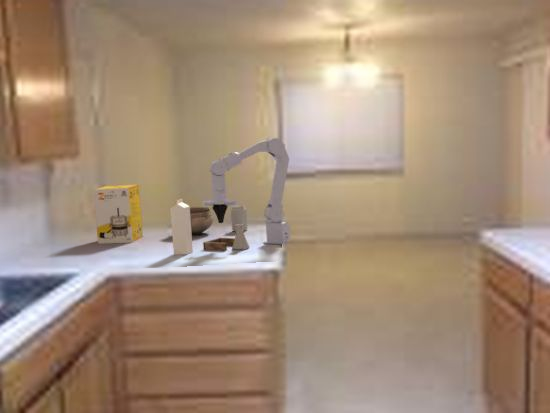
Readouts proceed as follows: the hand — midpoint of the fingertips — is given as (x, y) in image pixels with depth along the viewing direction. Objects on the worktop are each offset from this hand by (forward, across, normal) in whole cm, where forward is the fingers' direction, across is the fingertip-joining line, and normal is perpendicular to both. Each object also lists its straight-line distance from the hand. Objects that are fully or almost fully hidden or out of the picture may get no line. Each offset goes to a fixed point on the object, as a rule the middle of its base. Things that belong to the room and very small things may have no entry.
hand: (221, 222), depth 294 cm
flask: (+11, -9, +2) cm, 14 cm away
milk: (+11, +12, +12) cm, 20 cm away
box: (+10, -1, 0) cm, 11 cm away
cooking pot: (+11, +28, -35) cm, 46 cm away
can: (+11, +8, -44) cm, 46 cm away
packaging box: (+11, +59, -21) cm, 63 cm away
